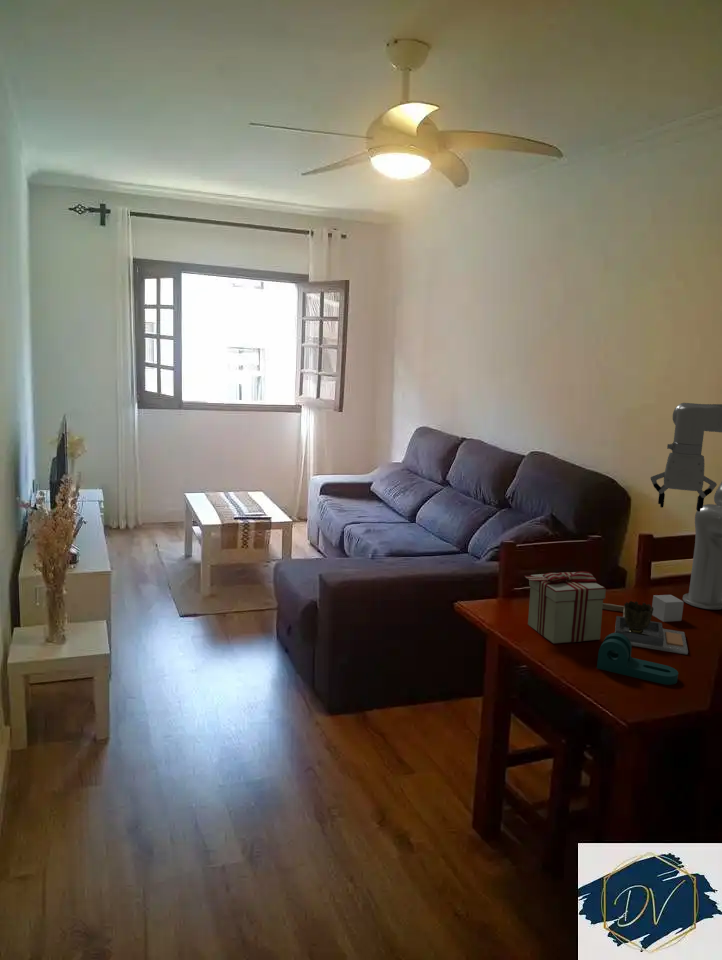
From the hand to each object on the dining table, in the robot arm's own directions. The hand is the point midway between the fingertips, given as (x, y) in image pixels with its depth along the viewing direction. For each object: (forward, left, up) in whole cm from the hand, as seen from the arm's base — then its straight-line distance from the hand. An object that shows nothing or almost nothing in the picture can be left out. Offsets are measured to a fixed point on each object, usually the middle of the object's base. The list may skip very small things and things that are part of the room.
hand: (679, 508), depth 206 cm
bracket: (+43, -8, -34) cm, 55 cm away
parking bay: (+5, -17, -33) cm, 38 cm away
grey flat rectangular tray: (+19, -5, -33) cm, 39 cm away
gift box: (+24, -29, -34) cm, 50 cm away
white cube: (-1, 0, -34) cm, 34 cm away
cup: (+19, -9, -32) cm, 39 cm away
